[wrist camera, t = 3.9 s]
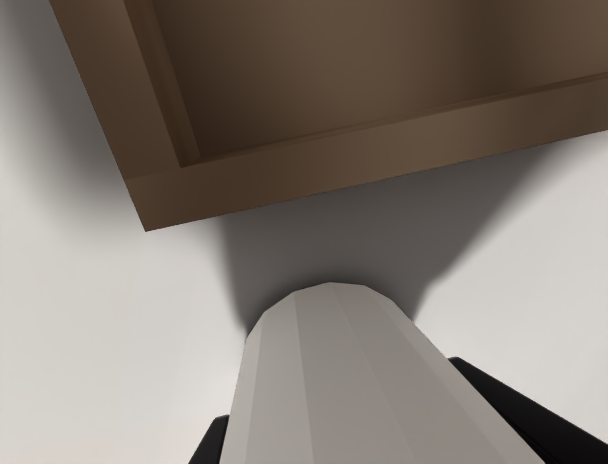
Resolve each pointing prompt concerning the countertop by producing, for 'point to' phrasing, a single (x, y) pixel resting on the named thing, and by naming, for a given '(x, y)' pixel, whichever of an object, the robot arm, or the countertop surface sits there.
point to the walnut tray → (326, 91)
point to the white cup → (357, 390)
